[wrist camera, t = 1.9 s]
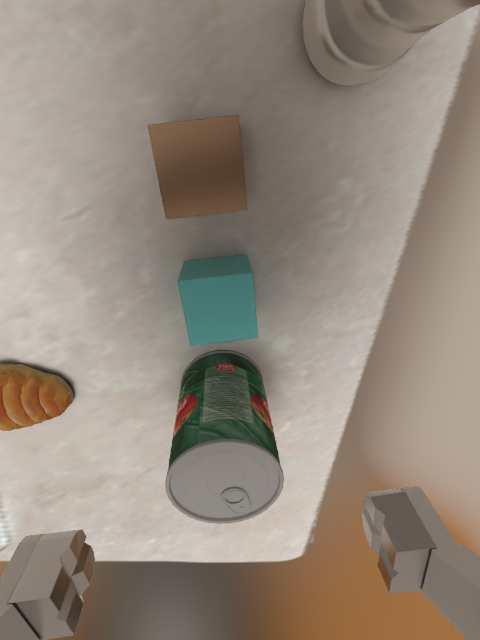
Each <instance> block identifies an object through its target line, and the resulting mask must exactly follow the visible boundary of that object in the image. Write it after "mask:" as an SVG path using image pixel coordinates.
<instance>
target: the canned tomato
mask: <svg viewBox="0 0 480 640" xmlns="http://www.w3.org/2000/svg"><path fill="white" fill-rule="evenodd" d="M174 428H175V429H174V433H173V440H172V447H171V454H170V459H169V468H168V472H167V477H166V492H167V495H168V497H169V499H170V501H171V502H172V504H173V505H174V506H175V507H176V508H177V509H178V510H179V511H181V512H182V513H184V514H185V515H187V516H189V517H191V518H194V519H196V520H199V521H203V522H208V523H218V524H220V523H234V522H240V521H243V520H247V519H250V518H252V517H254V516H256V515H259V514H260V513H262V512H263V511H265V510H267V509H268V508H269V507H270V506H271V505H272V504H273V503H274V502H275V501H276V499H277V498H278V497H279V495H280V493H281V490H282V488H283V482H284V477H283V470H282V468H281V466H280V461H279V456H278V450H277V446H276V441H275V436H274V432H273V426H272V423H271V418H270V413H269V409H268V404H267V399H266V394H265V390H264V386H263V379H262V375H261V373H260V370H259V369H258V367H257V366H256V364H255V363H254V362H253V361H252V360H250V359H249V358H248V357H246V356H244V355H242V354H240V353H237V352H233V351H213V352H209V353H206V354H203V355H201V356H200V357H198V358H196V359H195V360H194V361H192V362H191V363H190V364H189V366H188V367H187V368H186V369H185V372H184V374H183V376H182V380H181V390H180V395H179V402H178V409H177V415H176V422H175V427H174Z"/></svg>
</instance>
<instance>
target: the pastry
mask: <svg viewBox="0 0 480 640" xmlns="http://www.w3.org/2000/svg"><path fill="white" fill-rule="evenodd" d="M73 399H74V398H73V392H72V390H71V388H70V387H69V385H68V384H67V383H66V382H65V380H64V379H63V378H61V377H60V376H57V375H55V374H51V373H45V372H42V371H40V370H38V369H34V368H32V367H30V366H27V365H25V364H21V363H20V364H10V363H0V430H3V431H10V430H13V429H19V428H23V427H28V426H32V425H34V424H38V423H41V422H43V421H45V420H49V419H52V418H54V417H57V416H60V415H61V414H62V413H63V412H64V411H65V410H66V408H67V407H68V406H69V404H71V403H72V401H73Z"/></svg>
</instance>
